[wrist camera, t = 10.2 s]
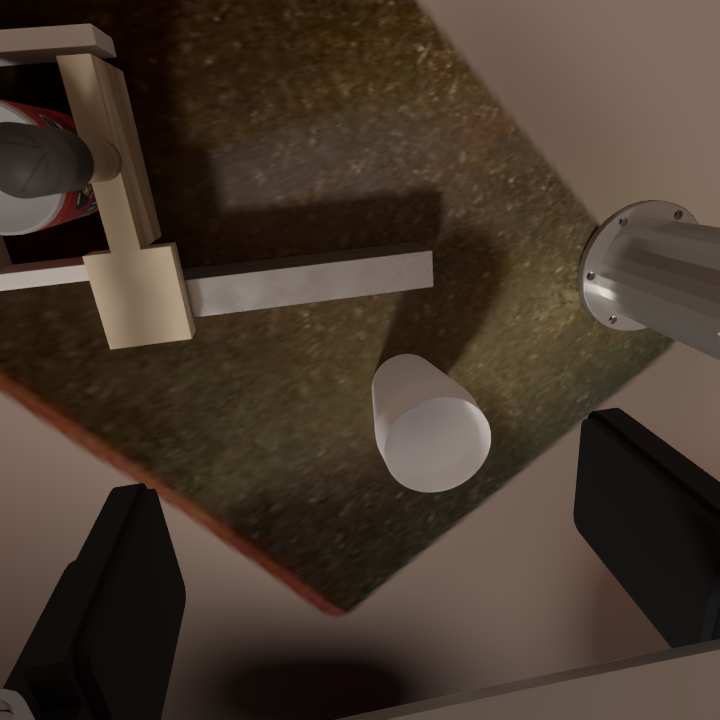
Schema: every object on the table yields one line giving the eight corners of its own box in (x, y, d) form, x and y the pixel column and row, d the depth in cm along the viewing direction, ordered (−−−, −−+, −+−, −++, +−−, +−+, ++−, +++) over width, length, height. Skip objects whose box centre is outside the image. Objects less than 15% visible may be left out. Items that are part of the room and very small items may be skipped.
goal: (112, 38, 37) (56, -2, 28) (165, 261, 43) (134, 289, 34) (-82, 52, 36) (-208, 16, 26) (2, 280, 42) (-76, 315, 33)
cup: (418, 323, 49) (458, 372, 38) (463, 390, 52) (512, 453, 41) (341, 377, 50) (359, 439, 39) (391, 439, 53) (420, 512, 42)
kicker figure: (150, 69, 38) (43, -5, 21) (204, 313, 45) (157, 408, 28) (66, 75, 37) (-116, 6, 20) (134, 322, 44) (43, 425, 27)
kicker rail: (416, 241, 46) (432, 250, 41) (418, 274, 47) (433, 286, 42) (167, 270, 44) (154, 284, 39) (175, 304, 45) (163, 321, 40)
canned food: (108, 230, 42) (52, 253, 32) (0, 196, 40) (-96, 210, 30) (126, 134, 39) (72, 127, 29) (13, 93, 37) (-87, 70, 27)
